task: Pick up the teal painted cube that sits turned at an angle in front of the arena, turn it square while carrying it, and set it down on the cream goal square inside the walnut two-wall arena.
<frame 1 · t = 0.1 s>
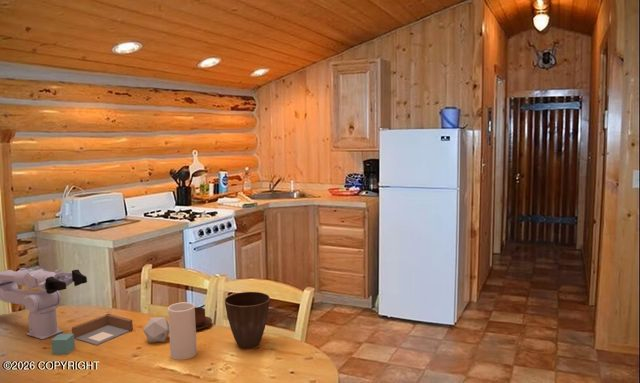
hand: (75, 282, 173), 22 cm above the table, tool horizontal, fingers open, 7 cm apart
arena: (103, 334, 184), on the table
cup: (183, 354, 167), on the table
teal cube: (64, 351, 170), on the table
cup and saucer: (195, 327, 190), on the table
plant pot: (248, 345, 174), on the table
die: (158, 340, 178), on the table
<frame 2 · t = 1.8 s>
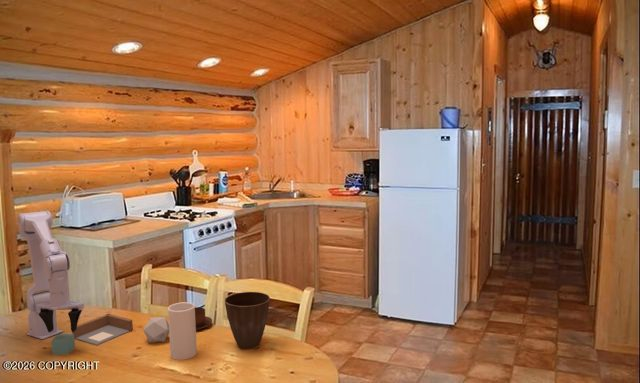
hand: (62, 330, 170), 7 cm above the table, tool pointing down, fingers open, 7 cm apart
nothing on the table moved.
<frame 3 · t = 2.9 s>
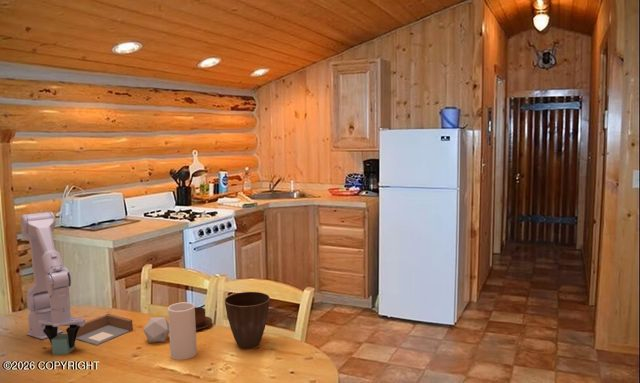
hand: (63, 346, 170), 1 cm above the table, tool pointing down, fingers closed on teal cube, 5 cm apart
teal cube: (64, 351, 170), on the table, touching gripper
everything else where it was.
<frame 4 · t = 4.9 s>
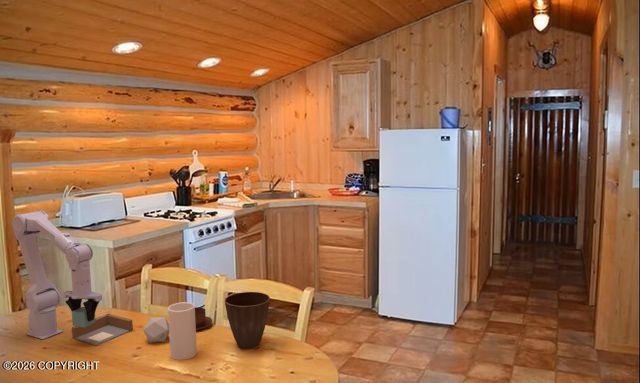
hand: (84, 319, 175), 8 cm above the table, tool pointing down, fingers closed on teal cube, 5 cm apart
teal cube: (84, 323, 176), point 7 cm above the table, touching gripper
everything else where it was.
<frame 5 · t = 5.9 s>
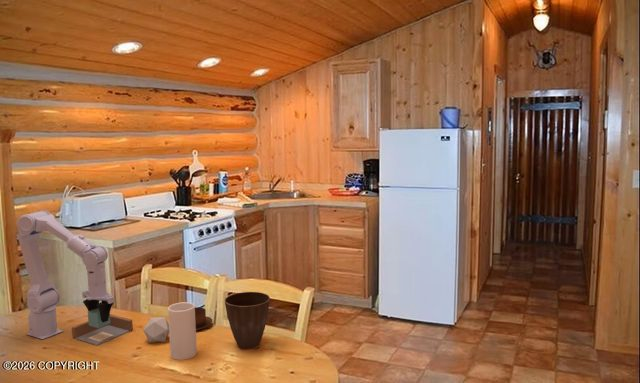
hand: (99, 320, 180), 6 cm above the table, tool pointing down, fingers closed on teal cube, 5 cm apart
teal cube: (99, 324, 180), point 5 cm above the table, touching gripper
everything else where it was.
when the fingers open (3 cm above the table, at t = 6.9 s): teal cube drops 1 cm, resting on arena.
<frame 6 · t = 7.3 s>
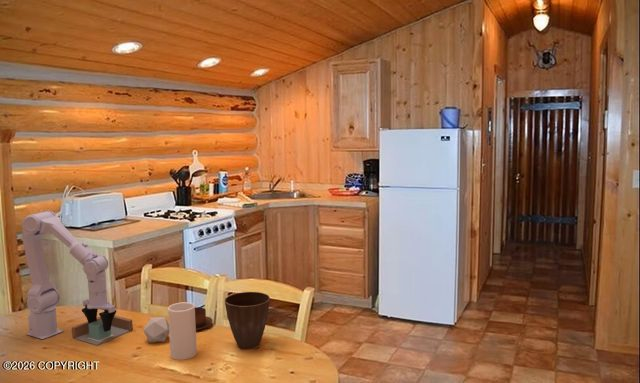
hand: (100, 328, 180), 3 cm above the table, tool pointing down, fingers open, 7 cm apart
teal cube: (100, 336, 181), resting on arena
everything else where it was.
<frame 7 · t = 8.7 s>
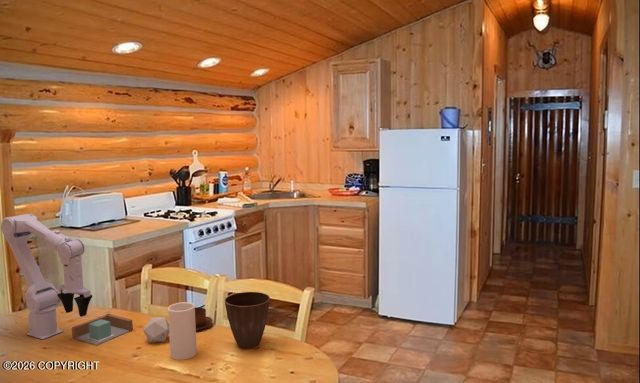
hand: (76, 313, 178), 9 cm above the table, tool pointing down, fingers open, 7 cm apart
nothing on the table moved.
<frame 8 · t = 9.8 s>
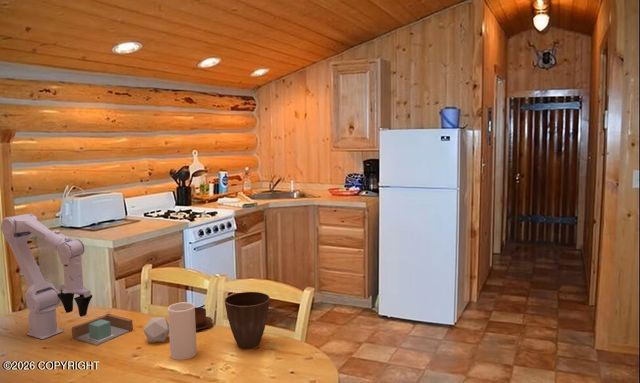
hand: (76, 313, 178), 9 cm above the table, tool pointing down, fingers open, 7 cm apart
nothing on the table moved.
at the end: teal cube 0.2 cm from the target spot, point 0.5 cm above the table; teal cube tilted 0°; the gripper is holding nothing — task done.
